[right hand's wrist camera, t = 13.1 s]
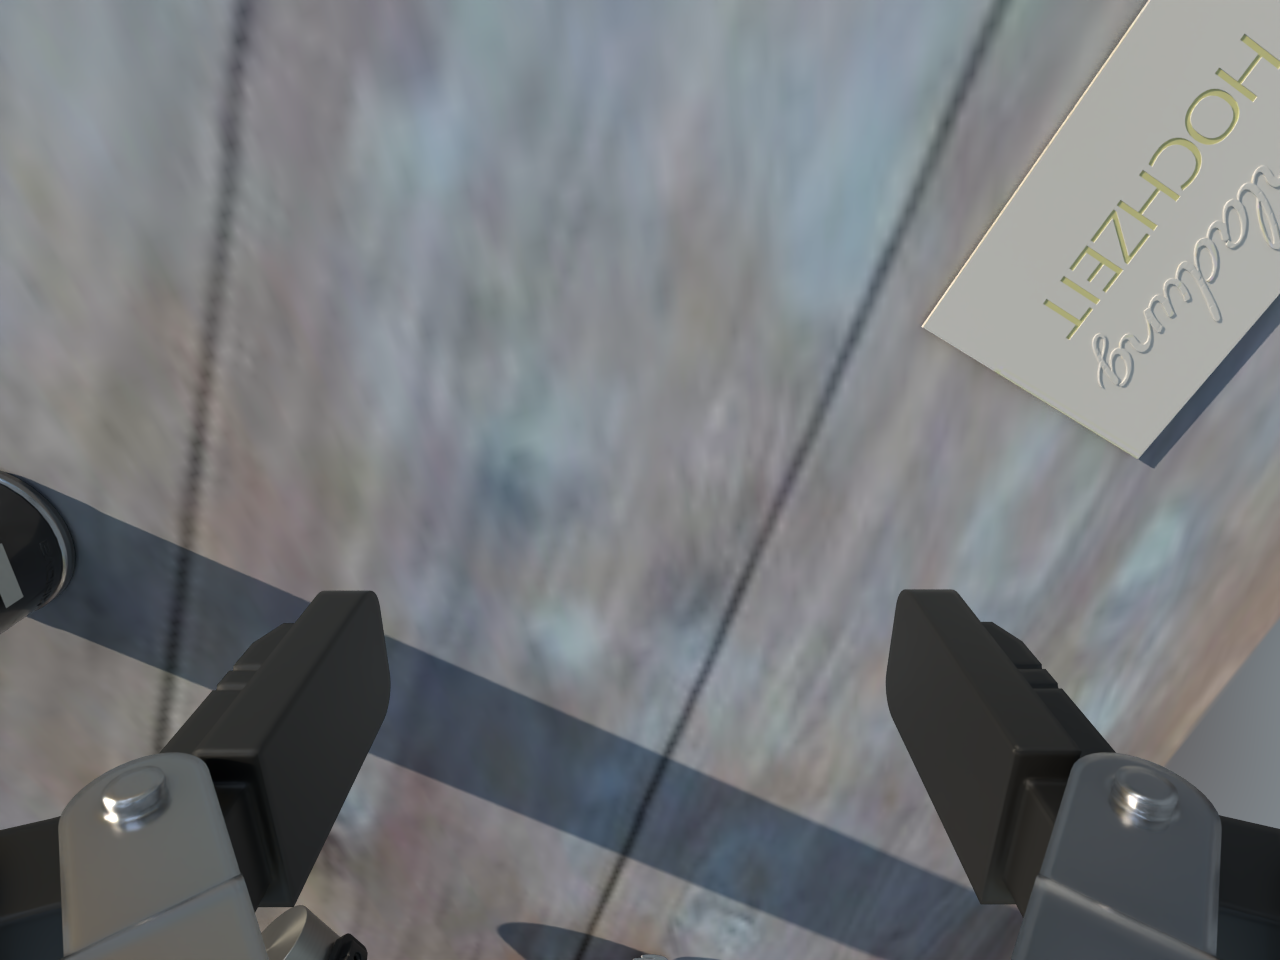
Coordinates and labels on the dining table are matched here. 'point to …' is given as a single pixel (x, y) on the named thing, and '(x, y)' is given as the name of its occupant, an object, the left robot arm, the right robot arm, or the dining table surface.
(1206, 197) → the invitation card
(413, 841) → the dining table surface
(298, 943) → the rod
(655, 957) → the fork
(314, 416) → the dining table surface
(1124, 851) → the right robot arm
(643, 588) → the dining table surface
